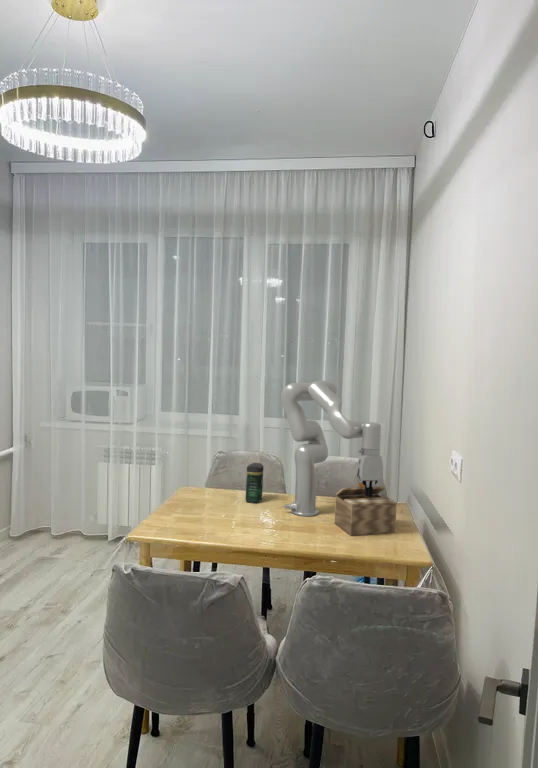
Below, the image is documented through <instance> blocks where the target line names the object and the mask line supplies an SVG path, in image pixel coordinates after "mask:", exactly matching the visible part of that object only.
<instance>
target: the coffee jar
mask: <svg viewBox="0 0 538 768" xmlns="http://www.w3.org/2000/svg"><path fill="white" fill-rule="evenodd" d="M245 483H246V484H245V485H246V486H245V502H246V501H247V502H246V503H250V502H252V503H251V504H258V502H259V503H261V502H262V500H263V488H264V487H263V486H264V465H263V464H262V463H261V462H252V463H250V464H248V465H247V466H246V482H245Z"/></svg>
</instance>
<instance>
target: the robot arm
mask: <svg viewBox="0 0 538 768" xmlns="http://www.w3.org/2000/svg"><path fill="white" fill-rule="evenodd" d="M280 397H281V398H280V399H281V406H282V408H283V410H284V413H285V416H286V419H287V423H288V426H289V429H290V434H291V436H292V439H293V440H294V441H296V442H298V443H301V442H302V443H303V442H304V444H300V445H299V446H297V447H296V448H295V451H294V454H293V455H294V463H295V486H294V487H295V488H294V495H295V496H294V501H292V503H290V504H289V503H288V504H287V503H286V504H284V509H289V510H290V512H291V514H293V515H296V516H302V517H312V516H317V515H319V511H320V510H319V509H317V508H316V503H317V502H316V501H317V470H316V467H315V464H321V463H323V462H325V461H326V460H327V459H328V457H329V449H328V445H327V443H326V439H325V435H324V432H323V429H322V427H321V425H320V424H319V423H318V422H317V421H315V420H310V419H309V420H308V419H307V417H306V413H305V410H304V409H303V407H302V405H301V404H299V402H304V401H305V402H307V401H314V402H315V403H316V404H317V405H318V406H319V407H320V408H321V409H322V410H323V411H324V412H325V413H326V415H327V420H328V423H329V424H330V426H331V428H332V429H333V430H334V431H335V432H336V433H337V434H338V435H340V436H341V437H342V438H343V439H346V440H352V439H360V438H361V447H360V449H358V453H359V454H360V455H359V458H358V462H357V467H356V468H357V469H356V482H357V483H358V482H359V483H362V484H363V485H364V486H365V496H367V497H372V495H374V494H373V487H376V484H378V483H381V482H382V480H383V478H384V463H383V457H382V455H381V440H382V439H381V437H382V436H381V435H382V434H381V433H382V424H380V423H379V422H373V421H366V420H363V419H352V420H348V419H347V418H346V417H345V416H344V415H343V414H342V412H341V411H340V410H341V408H342V405H343V401H342V399H341V398H339V397H338V395H337V387H336V385H335V384H334V383H333V382H332V381H330V380H315V381H313V382H292V383H289V384H287V385H286V386H284V388H283V389H282V391H281V395H280ZM305 442H307V443H305ZM357 477H358V478H357Z"/></svg>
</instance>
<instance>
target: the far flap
mask: <svg viewBox="0 0 538 768" xmlns="http://www.w3.org/2000/svg"><path fill="white" fill-rule="evenodd" d="M357 478H358V477H357V476H356V479H357ZM357 486H358V487H342V488H340V489H339V490H338V491H337V492H336V493H335V497H336V496H352V495H365V486H364V485H363V484H362V483H359V482H357ZM385 489H386V486H385V485H384V486H374V487H373V494H372V495H376V494H378V495H379V494H380V493H382V492H383V491H384V490H385Z"/></svg>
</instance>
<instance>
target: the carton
mask: <svg viewBox="0 0 538 768" xmlns="http://www.w3.org/2000/svg"><path fill="white" fill-rule="evenodd" d="M397 503H398V502H397V501H396V500H394V499H392V498H390V497H387V496H386V497H383V496H382V495H379V494H372V497H367V496H365V495H347V496H336V495H335V504H334V505H335V506H334V507H335V508H334V509H335V510H334V525H336V526H337V527H338V528H340V529H341V530H343V532H345V533H346V534H348V535H349V536H350V537H357V536H370V535H371V536H372V535H373V536H374V535H389V534H396V527H397V525H396V524H397V523H396V522H397V507H398V506H397Z"/></svg>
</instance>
